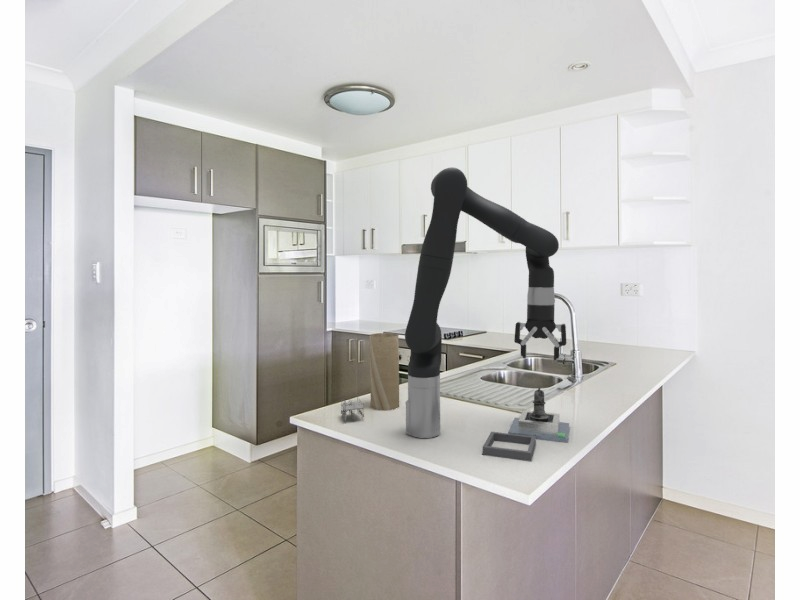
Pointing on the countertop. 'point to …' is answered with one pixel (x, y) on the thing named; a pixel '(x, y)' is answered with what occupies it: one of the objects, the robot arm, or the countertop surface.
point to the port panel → (541, 427)
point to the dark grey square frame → (509, 452)
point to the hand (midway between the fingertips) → (539, 358)
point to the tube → (384, 371)
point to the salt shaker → (539, 407)
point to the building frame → (351, 408)
